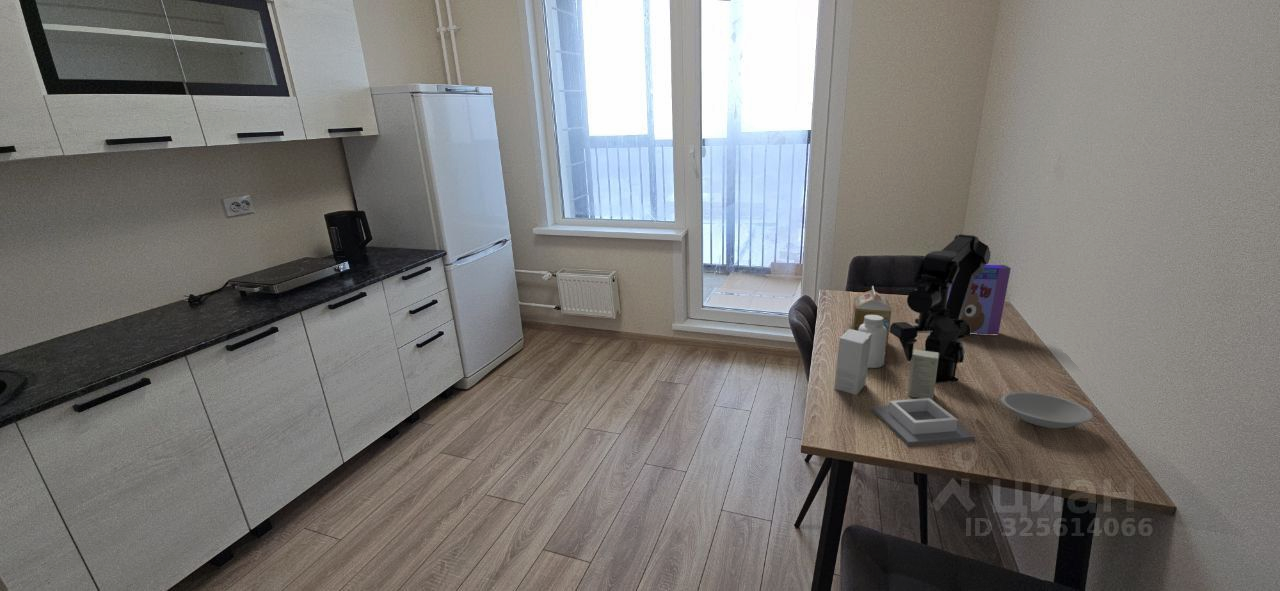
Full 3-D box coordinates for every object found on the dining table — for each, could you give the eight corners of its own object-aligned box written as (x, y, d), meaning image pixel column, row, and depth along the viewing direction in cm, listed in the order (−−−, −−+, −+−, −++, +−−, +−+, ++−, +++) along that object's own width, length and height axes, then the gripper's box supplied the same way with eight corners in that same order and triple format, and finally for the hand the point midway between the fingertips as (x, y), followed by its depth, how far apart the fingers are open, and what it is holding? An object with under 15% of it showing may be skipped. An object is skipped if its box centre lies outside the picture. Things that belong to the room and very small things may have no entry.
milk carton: (850, 337, 181) (855, 284, 175) (883, 340, 177) (890, 286, 172) (851, 348, 171) (856, 293, 166) (886, 352, 168) (893, 296, 162)
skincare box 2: (934, 394, 141) (940, 352, 137) (932, 401, 137) (939, 358, 134) (908, 388, 144) (913, 348, 140) (906, 395, 140) (911, 353, 137)
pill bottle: (857, 356, 165) (862, 311, 161) (885, 361, 162) (890, 315, 157) (853, 365, 159) (857, 319, 155) (881, 370, 155) (887, 323, 151)
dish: (1008, 435, 121) (1012, 416, 120) (989, 405, 134) (993, 388, 133) (1100, 447, 116) (1106, 427, 114) (1072, 415, 129) (1076, 396, 127)
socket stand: (930, 406, 135) (932, 392, 134) (974, 440, 119) (977, 425, 118) (871, 410, 133) (872, 396, 132) (908, 445, 118) (910, 430, 117)
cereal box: (942, 333, 182) (952, 266, 175) (937, 329, 186) (947, 263, 179) (997, 335, 179) (1010, 267, 171) (991, 331, 183) (1003, 264, 176)
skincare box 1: (843, 378, 151) (848, 328, 146) (867, 384, 147) (873, 333, 142) (833, 389, 145) (838, 337, 140) (857, 396, 141) (863, 342, 136)
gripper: (917, 315, 124) (909, 375, 129) (991, 311, 126) (980, 370, 131) (891, 301, 135) (885, 357, 140) (960, 297, 137) (951, 352, 141)
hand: (925, 359), depth 138 cm, fingers open, 9 cm apart
